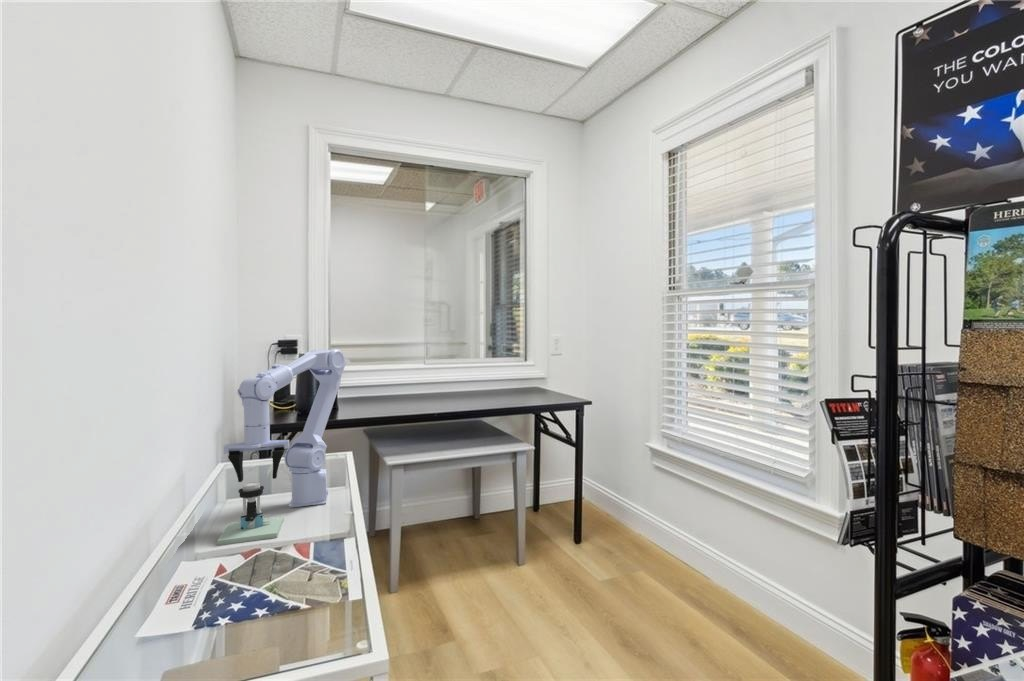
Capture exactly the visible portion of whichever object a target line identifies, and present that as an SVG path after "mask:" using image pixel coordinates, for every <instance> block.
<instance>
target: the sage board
mask: <svg viewBox="0 0 1024 681" xmlns="http://www.w3.org/2000/svg"><path fill="white" fill-rule="evenodd" d="M265 521H271V522H268V523H263V526H261V527H255V528H249V529H244V530H241V523H240V521H235V522H229V523H228V525H227V526H226V528H225V529H224V531H223V532H222V533H221V535H220V536H219V537H218V538H217V540H216V545H217V546H223V545H229V544H231V545H232V544H236V543H237V544H238V543H245V542H246V543H247V542H253V541H259V540H267V539H268V540H269V539H274V538H278V537H279V534H280V531H281V528H282V526H283V524H284V521H285V516H279V517H278V516H276V517H271V518H269V519H264V520H263V522H265Z"/></svg>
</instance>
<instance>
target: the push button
mask: <svg viewBox="0 0 1024 681" xmlns="http://www.w3.org/2000/svg"><path fill="white" fill-rule="evenodd" d="M264 489H265V486H264V485H260V482H248V483H244V484H243V485H242V488H239V489H238V490H237V491H238V494H239V498H242V513H241V516H240V521H239V522H240V523H241V530H244V529H249V528H255V527H261V526H263V523H268V522H271V521H265V522H263V520H264V519H269V518H272V517H271V516H268V517H264V513H263V512H262V510H261V499H260V498H261V496H262V495H263V494H264Z"/></svg>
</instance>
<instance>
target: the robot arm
mask: <svg viewBox="0 0 1024 681" xmlns="http://www.w3.org/2000/svg"><path fill="white" fill-rule="evenodd" d="M346 364H347V362H346V358H345V356H344V353H343V352H342V351H341V350H340V349H338V348H334V349H318V350H317V349H312V350H310V351H306V352H305V353H304V355H301V356H300V357H298V358H297V359H295V360H294V361H292V362H290V363H289V364H287V365H284V364H279V363H277V364H275V363H274V364H273V365H271V368H270V369H268V370H265V371H261V372H258V373H257V375H256V376H255V377H247V378H244V379H243V381H242V382H241V383H240V384H239V387H238V389H237V395H238V397H239V398H240V400H241V406H242V407H243V425H244V426H243V432H244V434H243V436H244V438H243V440H244V441H243V442H236V443H228V444H225V445H223V454H228V456H227V457H228V460H229V461H230V463H231V464H232V466H233V469H234V470H235V474H236V476H237V481H238V483H242V482H243V481H244V468H243V466H244V465H243V463H244V453H245V452H255V451H268V450H272V451H271V454H272V455H271V456H272V457H271V458H272V479H273V480H274V479H277V478H278V470H279V467H280V462H281V460H282V457H283V455H284V459H283V460H284V464H285V465H286V467H287V468H288V471H289V472H291V473H290V476H291V477H290V478H291V500H290V501H289V504H288V508H299V507H306V506H313V505H315V506H316V505H323V504H326V503H327V500H328V495H329V488H328V475H327V474H328V473H327V472H328V471H327V468H323V466H324V464H325V462H326V451H327V448H328V445H327V444H326V442H324V440H323V439H322V438H323V435H324V432H325V429H326V427H327V424H328V422H329V417H330V415H331V412H332V410H333V406H334V403H335V400H336V396H337V395H338V391H339V388H340V385H341V382H342V381H341V379H342V375H343V372H344V370H345V367H346ZM308 370H309V371H310V372H311V374H312V375H313V376H314V379H316V380H317V381H318V383H319V386H318V389H317V391H316V394H315V397H314V400H313V403H312V405H311V407H310V408H311V409H310V411H309V414H308V416H307V418H306V422H305V424H304V427H303V429H302V430H303V431H302V433H300V435H299V436H297V437H295V438H294V439H293V440H292V441H291V444H290V439H276V440H275V439H273V440H272V439H271V435H270V434H271V433H270V432H271V431H270V430H271V425H270V422H271V421H270V400H271V399H272V398H273V396H274V395H275V392H277V391H278V390H281V389H282V388H284V387H286V386H287V385H290V384H291V383H292V381H293V378H294V376H295V377H296V376H297V375H299V374H301V373H303V372H304V373H305V371H308ZM286 449H287V450H286ZM284 453H285V454H284Z"/></svg>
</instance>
